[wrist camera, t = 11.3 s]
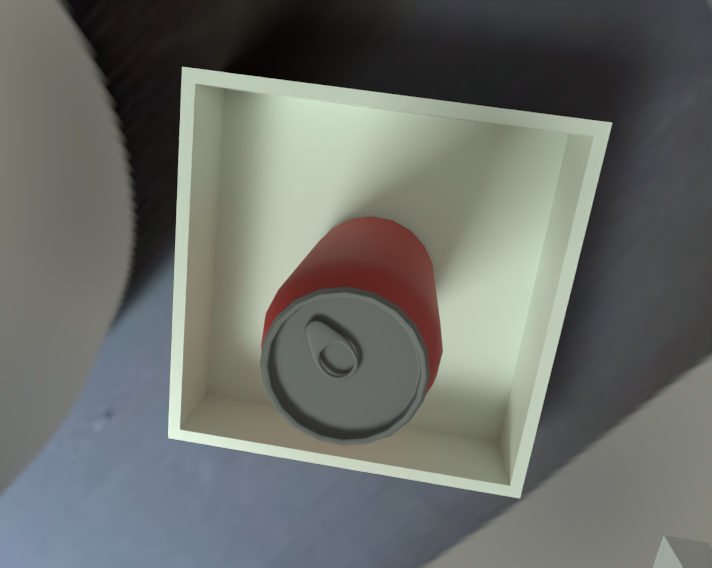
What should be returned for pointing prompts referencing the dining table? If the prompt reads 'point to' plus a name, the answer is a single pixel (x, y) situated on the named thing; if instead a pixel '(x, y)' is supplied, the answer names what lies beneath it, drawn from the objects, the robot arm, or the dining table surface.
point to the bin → (393, 202)
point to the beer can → (354, 334)
